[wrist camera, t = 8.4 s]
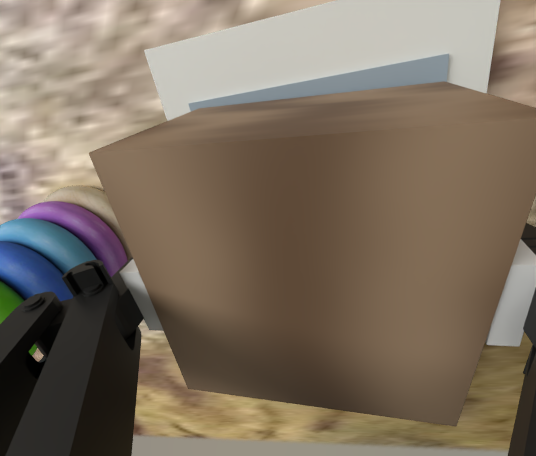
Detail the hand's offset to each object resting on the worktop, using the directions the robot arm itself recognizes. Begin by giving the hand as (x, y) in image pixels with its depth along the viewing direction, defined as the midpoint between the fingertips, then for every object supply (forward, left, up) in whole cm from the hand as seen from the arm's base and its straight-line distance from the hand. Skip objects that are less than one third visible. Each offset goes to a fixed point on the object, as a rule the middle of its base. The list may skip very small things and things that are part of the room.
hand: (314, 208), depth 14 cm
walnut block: (0, 0, 0) cm, 0 cm away
